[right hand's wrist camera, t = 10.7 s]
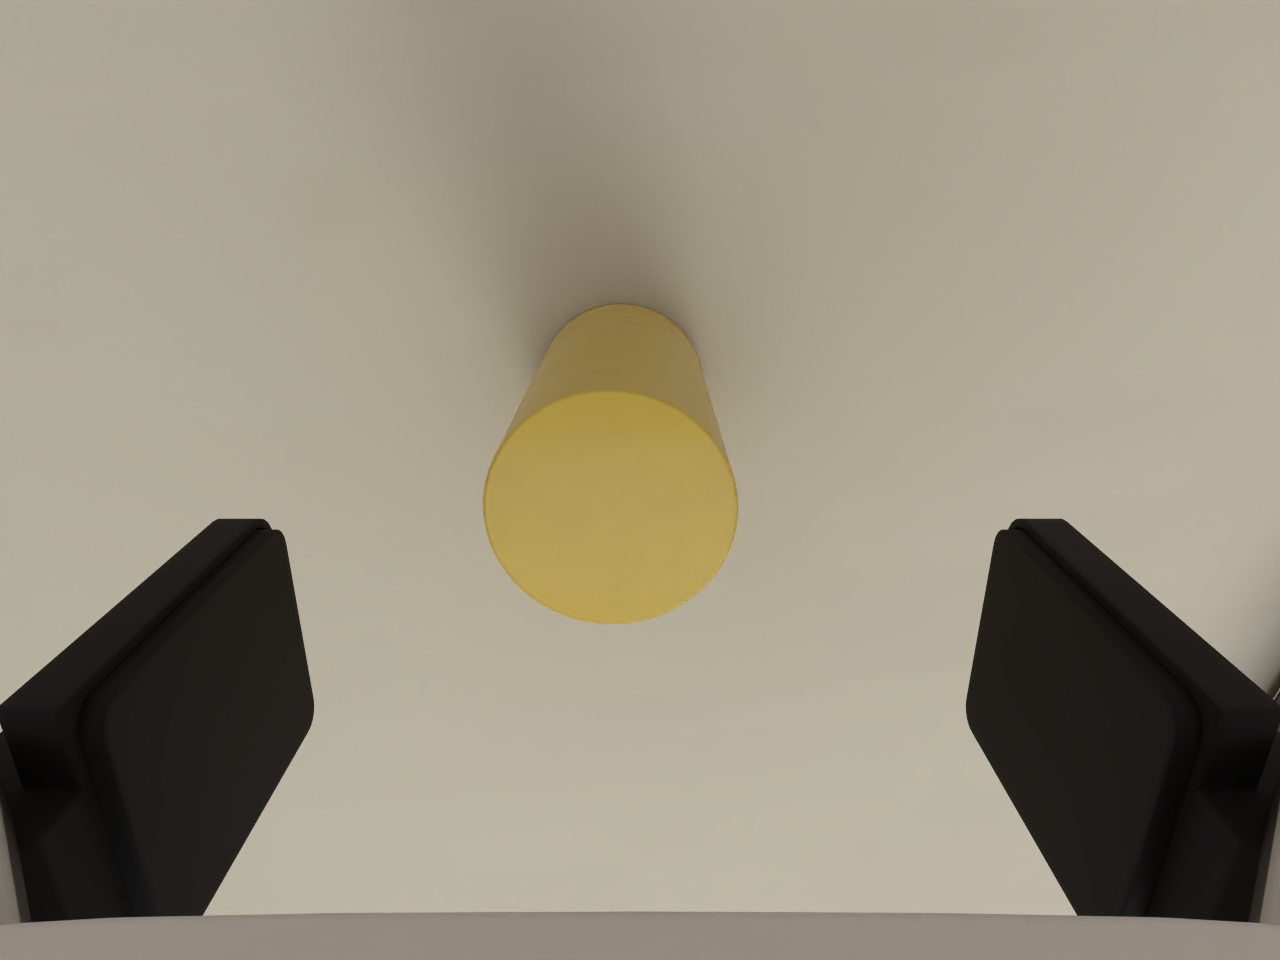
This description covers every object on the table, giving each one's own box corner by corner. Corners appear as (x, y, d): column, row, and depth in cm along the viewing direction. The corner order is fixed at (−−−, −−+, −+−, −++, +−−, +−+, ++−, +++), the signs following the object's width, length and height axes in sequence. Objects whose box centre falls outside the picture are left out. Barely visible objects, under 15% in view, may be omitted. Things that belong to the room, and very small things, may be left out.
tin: (582, 483, 26) (550, 657, 17) (513, 343, 25) (435, 451, 15) (725, 424, 26) (774, 573, 16) (664, 276, 24) (680, 346, 15)
